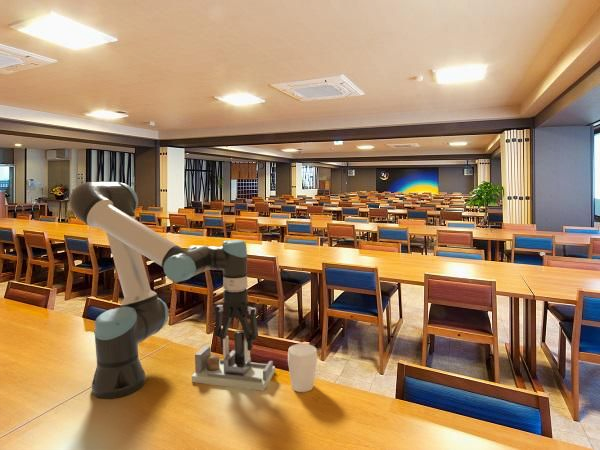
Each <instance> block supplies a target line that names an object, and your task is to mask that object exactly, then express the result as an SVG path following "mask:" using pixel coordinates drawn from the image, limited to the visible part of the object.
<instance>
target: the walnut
mask: <svg viewBox="0 0 600 450" xmlns="http://www.w3.org/2000/svg"><path fill="white" fill-rule="evenodd" d="M219 360H220V355H219V354H214V353H212V354H211V355H209V356H207V370H208V371H217V370H219V368H220V367H219Z"/></svg>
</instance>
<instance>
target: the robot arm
mask: <svg viewBox="0 0 600 450" xmlns="http://www.w3.org/2000/svg"><path fill="white" fill-rule="evenodd" d="M138 205H139V199H138V195H137V193H136V191H135V190H134V188H132V186H129V185H128V184H126V183H123V182H118V181H108V182H106V181H105V182H104V181H97V182H96V181H95V182H94V181H87V182H83V183H80V184H79V185H78V186H76V187H75V188H74V189H73V190H72V192H71V193H70V196H69V206H70V209H71V211H72V214H74V215H75V216H76V218H78V219H79V220H80V221H81V222H82V223H85V225H88V226H89V227H91V228H99V229H101V230H102V231H104V232H105V233H106V237H107V240H108V243H109V248H110V251H111V254H112V258H113V262H114V265H115V270H116V273H117V276H118V280H119V283H120V287H121V291H122V295H123V299H122V301H121V303H120V306H119V307H115V308H114V309H113V308H111V309H108V310H106V311H104V312H101V314H99V315H98V316H97V317H96V319H95V322H94V329H93V330H94V331H93V332H94V342H95V343H94V344H95V353H96V356H95V357H96V369H95V371H94V375H93V379H92V382H91V393H92V395H93V396H95V397H96V398H100V399H115V398H116V399H117V398H121V397H122V398H123V397H124V396H128V395H131V394H134V393H135V392H137V391H138V390H140V389H142V387H143V386H144V385H145V384H146V373H145V370H144V368H143V366H142V364H141V363H142V362H141V361H140V358H139V344H140V343H142V342H144V341H145V340H147V339H148V338H150V337H151V336H153V335H155V334H157V333H159V331H161V330H162V329H163V328H164V327H165V325H166V324H167V322H168V319H169V315H170V313H169V307H168V305H167V304H166V302H165V301H163V300H162V299H161V298H159V296H158V294H157V292H155V291H154V290H152V289H151V286H150V282H149V278H148V275H147V272H146V268H145V264H144V260H143V258H142V256H144V257H146V258H147V259H149V260H151V261H152V262H153V263H155V264H157V265H159V266H160V267H162V268H163V273H164V274H165V275H166V278H167V279H169V280H170V281H171V282H175V283H177V282H178V283H179V282H183V281H187V280H189V279H191V278H192V277H195V276H196V275H199V274H202V273H203V272H206V271H207V270H212V271H215V270H216V271H222V275H223V277H222V278H223V279H222V280H223V281H222V283H223V289H224V290H223V304H217V305H216V306H215V307H214V312H215V323H214V324H215V325H214V336H215V337H217V338H219V339H220V341H219V342H220V348H222V357H223V359H225V357H226V356H227V355H228V354H229V353H230V349H229V348H230V345H229V344H230V342H229V341H230V340H229V335H228V334H227V333H228V330H229V328H230V324H231V322H232V319H234V318H235V319H238V321H239V322H240V324H241V327H242V331H244V337H245V361H248V359H249V358H251V350H252V349H253V341H255V340H256V339H257V338H258V337H259V330H258V321H257V320H258V319H257V312H258V308H257V307H256V306H255V307H252V306H250V305H249V304H248V298H249V297H248V289H247V287H248V252H247V242H245V241H244V240H241V239H229V240H223V242H222V245H221V246H215V245H214V246H213V245H203V244H199V245H190V246H189V247H188V248H187V249H184V248H183V247H180V246H179V245H177V244H176V243H174V242H173V241H171V240H169V239H168V238H166V237H164V236H163V235H161V234H159V233H158V232H156V231H155V230H154V229H151V228H150V227H148V226H147V225H145V224H143V223H142V222H141V221H138V220H137V219H136V214H135V212H136V211H137V207H138ZM224 311H225V313H226V314H225V318H224V322H223V312H224ZM247 312H248V315H249V320H250V321H249V322H250V323H249V322H248V319H247V318H248V317H247V314H246V313H247ZM222 324H223V325H222Z"/></svg>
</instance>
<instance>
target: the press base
mask: <svg viewBox="0 0 600 450" xmlns="http://www.w3.org/2000/svg"><path fill="white" fill-rule="evenodd" d="M211 352H212V351H211V345H206V344H205V345H204V346H202V348H200V349H199V350H198V351H196V353H195V354H194V366H195V372H194V373H192V375H191V382H192V383H198V384H204V385H205V384H206V385H213V386H222V387H223V386H224V387H229V388H230V387H231V388H238V389H246V390H254V391H262V392H264V391H265V389H266V387H267V386H268V384H269V383H270V381H271V379H272V378H273V376H274V374H275V372H276V366H275V365H273V364H274V363H273V362H274V361H273V360H269V361H268V362H267V363H260V362H252V361H251V367H250V369H249V370H248V371H247V373H246V374H245V375H244V376H239V375H231V374H224V359H222V358H221V359H220V358H219V367H220V368H219V370H217V371H208V370H207V356H209V355H212V354H211Z"/></svg>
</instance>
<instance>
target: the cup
mask: <svg viewBox="0 0 600 450" xmlns="http://www.w3.org/2000/svg"><path fill="white" fill-rule="evenodd" d="M317 352H318V351H317V348H316V347H315V346H314V345H311V344H307V343H298V344H292V345H290V346H289V348H288V351H287V364H288V371H289V377H290V378H289V379H290V383H291V384H290V386H291V388H292V389H293V391H294V392H299V393H306V392H309V391H311V390H312V389H313V388H314V384H315V383H314V382H315V376H316V369H317V363H318V361H317V360H318V356H317V354H318V353H317Z"/></svg>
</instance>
